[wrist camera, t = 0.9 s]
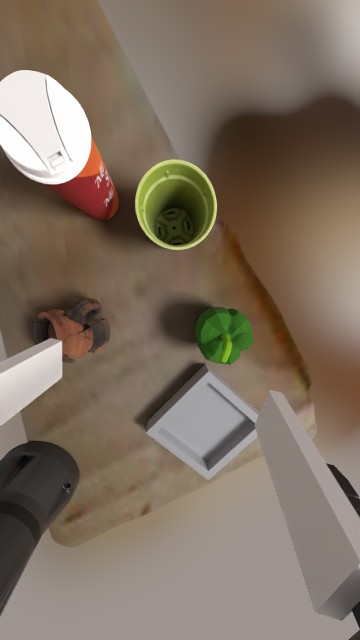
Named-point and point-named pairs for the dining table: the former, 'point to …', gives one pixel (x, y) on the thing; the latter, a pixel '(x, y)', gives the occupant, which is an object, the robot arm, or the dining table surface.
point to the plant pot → (175, 204)
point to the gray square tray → (205, 423)
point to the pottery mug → (75, 329)
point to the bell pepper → (223, 334)
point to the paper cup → (54, 142)
